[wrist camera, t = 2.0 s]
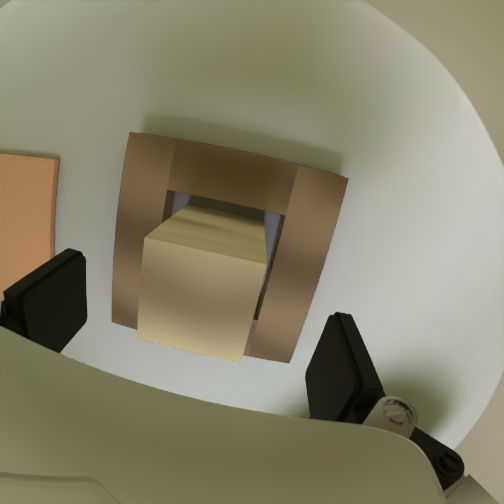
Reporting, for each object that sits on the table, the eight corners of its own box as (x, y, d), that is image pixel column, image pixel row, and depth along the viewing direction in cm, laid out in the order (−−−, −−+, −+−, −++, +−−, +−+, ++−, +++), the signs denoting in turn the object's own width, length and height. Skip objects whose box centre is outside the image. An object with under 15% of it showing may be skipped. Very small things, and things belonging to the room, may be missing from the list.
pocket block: (287, 347, 23) (289, 363, 21) (121, 309, 22) (111, 321, 20) (339, 175, 19) (348, 178, 17) (141, 133, 18) (129, 132, 16)
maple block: (247, 290, 21) (240, 363, 14) (176, 274, 21) (137, 338, 13) (264, 220, 20) (267, 264, 12) (188, 203, 19) (144, 237, 12)
